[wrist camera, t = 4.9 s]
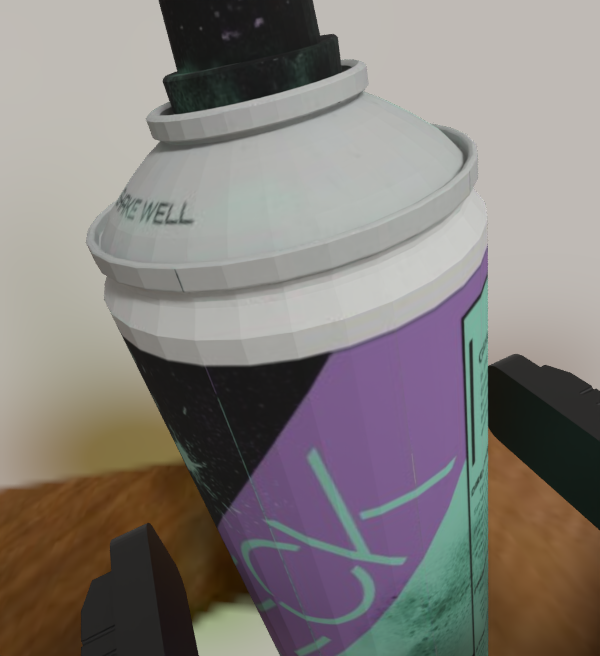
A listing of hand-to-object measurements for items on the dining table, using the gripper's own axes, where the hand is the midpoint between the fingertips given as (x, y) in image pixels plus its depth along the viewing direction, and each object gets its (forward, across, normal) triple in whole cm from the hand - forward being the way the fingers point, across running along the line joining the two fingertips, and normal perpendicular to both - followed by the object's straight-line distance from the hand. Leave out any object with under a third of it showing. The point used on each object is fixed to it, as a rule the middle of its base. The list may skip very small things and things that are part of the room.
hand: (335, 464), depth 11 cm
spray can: (-1, 0, +11) cm, 11 cm away
